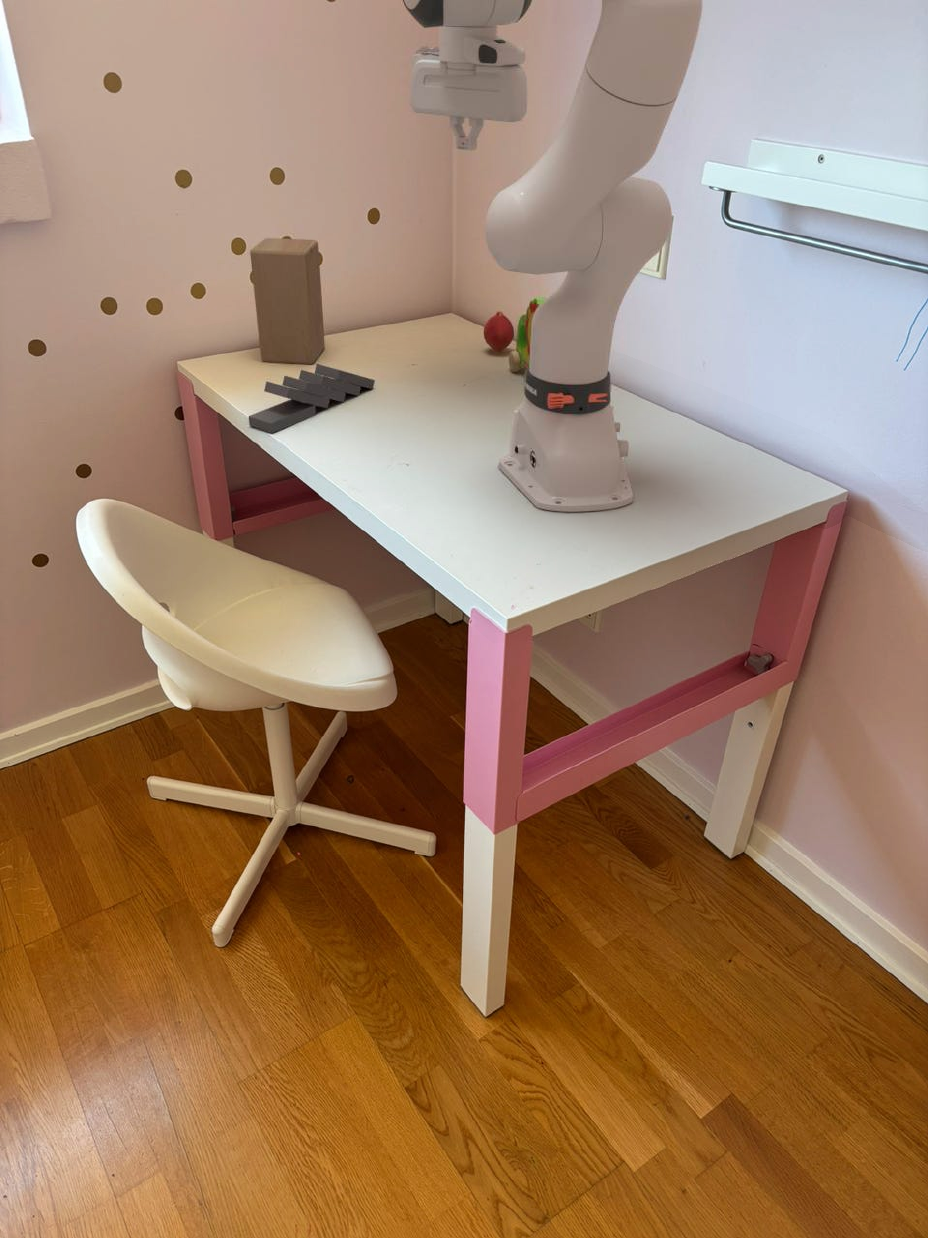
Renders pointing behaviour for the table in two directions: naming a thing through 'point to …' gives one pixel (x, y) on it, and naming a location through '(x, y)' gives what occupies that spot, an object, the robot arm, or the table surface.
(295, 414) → the domino
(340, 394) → the domino
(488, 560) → the table surface
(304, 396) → the domino
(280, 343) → the wooden block
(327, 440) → the table surface
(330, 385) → the domino
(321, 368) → the domino
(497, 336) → the onion
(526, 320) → the toy lion
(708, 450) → the table surface
